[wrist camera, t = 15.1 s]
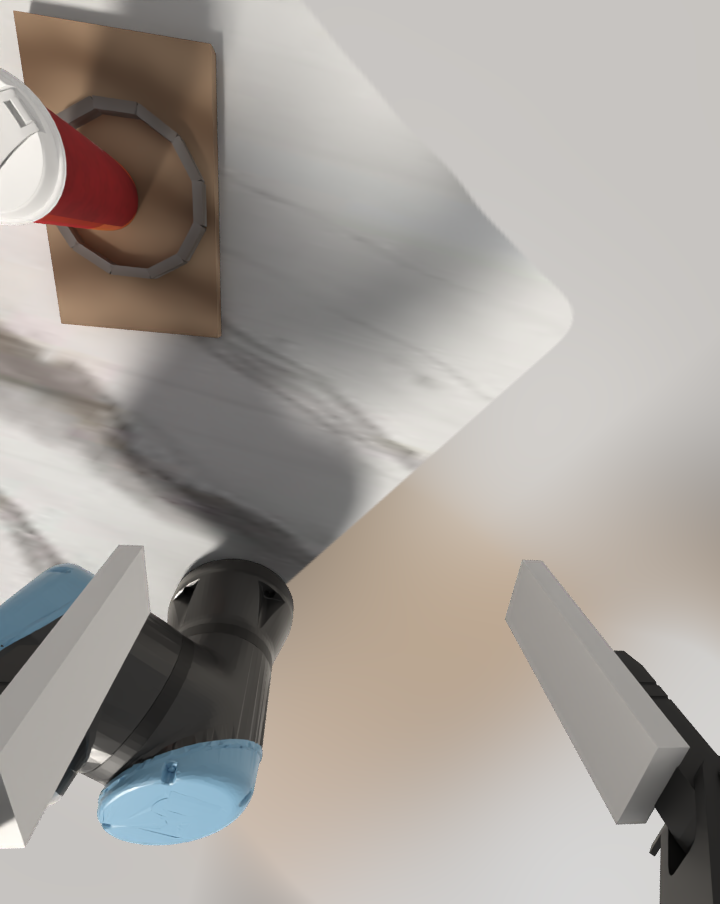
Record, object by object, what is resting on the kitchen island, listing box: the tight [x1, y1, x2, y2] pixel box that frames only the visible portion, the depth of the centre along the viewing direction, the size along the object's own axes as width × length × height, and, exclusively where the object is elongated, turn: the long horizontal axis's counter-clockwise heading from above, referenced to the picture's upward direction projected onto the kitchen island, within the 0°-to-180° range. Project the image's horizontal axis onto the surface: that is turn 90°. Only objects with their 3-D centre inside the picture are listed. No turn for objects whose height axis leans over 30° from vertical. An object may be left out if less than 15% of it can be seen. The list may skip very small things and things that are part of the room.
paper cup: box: [0, 68, 138, 231], centre depth 28 cm, size 8×8×14 cm
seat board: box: [13, 11, 221, 338], centre depth 35 cm, size 22×14×3 cm, turn 174°
